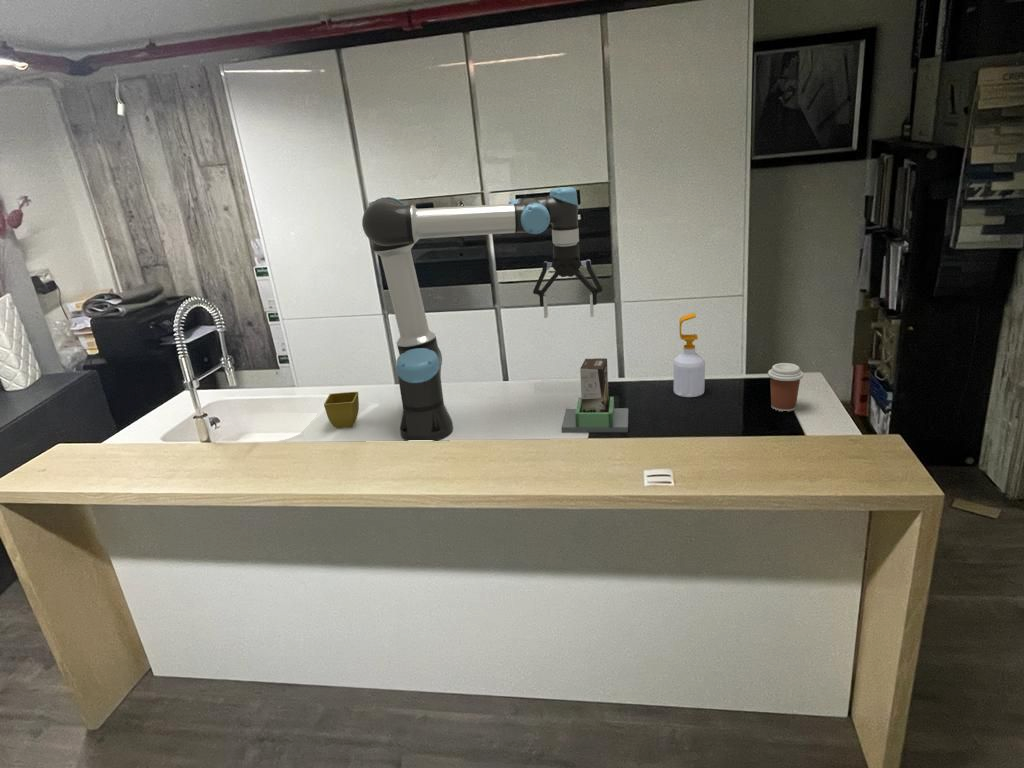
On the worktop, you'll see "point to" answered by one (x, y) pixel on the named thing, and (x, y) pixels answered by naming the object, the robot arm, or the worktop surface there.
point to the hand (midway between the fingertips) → (568, 316)
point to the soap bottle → (689, 367)
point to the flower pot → (342, 409)
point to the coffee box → (594, 385)
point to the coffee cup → (784, 386)
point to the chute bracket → (595, 419)
